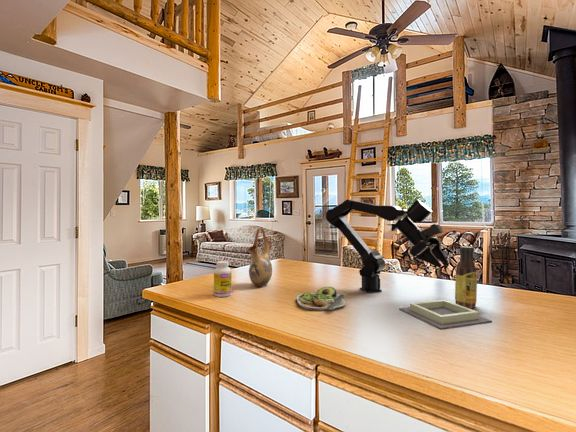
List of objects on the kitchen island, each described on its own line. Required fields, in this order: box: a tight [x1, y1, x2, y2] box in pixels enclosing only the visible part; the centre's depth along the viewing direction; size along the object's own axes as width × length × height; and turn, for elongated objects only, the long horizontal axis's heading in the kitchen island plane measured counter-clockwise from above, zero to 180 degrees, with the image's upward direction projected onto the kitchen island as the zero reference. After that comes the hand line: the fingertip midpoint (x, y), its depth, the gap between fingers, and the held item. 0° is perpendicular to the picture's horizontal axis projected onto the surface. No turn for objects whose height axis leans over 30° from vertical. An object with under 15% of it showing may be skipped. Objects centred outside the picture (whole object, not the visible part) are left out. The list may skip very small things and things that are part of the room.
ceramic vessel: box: [247, 227, 273, 288], centre depth 137 cm, size 16×9×25 cm, turn 153°
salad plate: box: [295, 286, 347, 311], centre depth 110 cm, size 19×18×5 cm
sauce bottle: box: [454, 245, 478, 309], centre depth 106 cm, size 6×6×20 cm
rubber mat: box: [399, 306, 493, 330], centre depth 98 cm, size 18×18×1 cm
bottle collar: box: [409, 299, 480, 324], centre depth 98 cm, size 13×13×2 cm
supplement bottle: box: [213, 260, 233, 298], centre depth 123 cm, size 7×7×13 cm
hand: (444, 264), depth 110 cm, fingers open, 9 cm apart
